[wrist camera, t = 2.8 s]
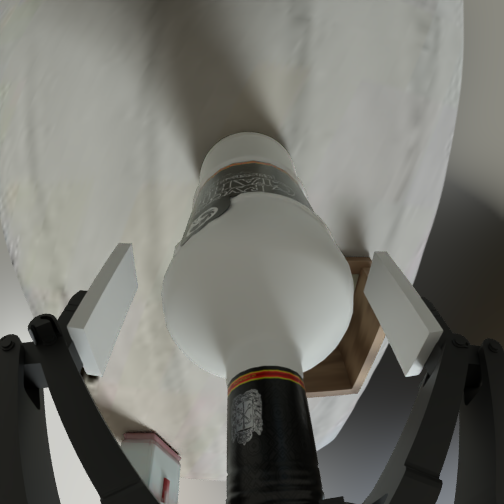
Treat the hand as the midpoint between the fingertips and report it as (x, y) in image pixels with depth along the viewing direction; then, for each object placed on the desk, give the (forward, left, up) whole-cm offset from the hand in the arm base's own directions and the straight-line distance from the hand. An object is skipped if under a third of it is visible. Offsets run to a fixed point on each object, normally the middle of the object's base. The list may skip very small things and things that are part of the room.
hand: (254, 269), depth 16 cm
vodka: (0, 0, -17) cm, 17 cm away
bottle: (+61, -19, -17) cm, 66 cm away
